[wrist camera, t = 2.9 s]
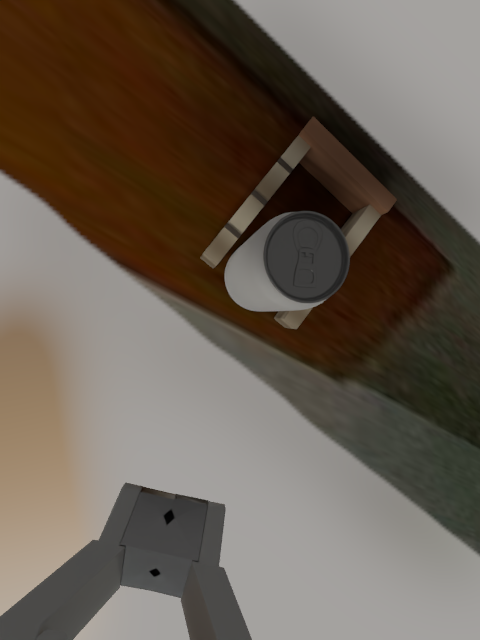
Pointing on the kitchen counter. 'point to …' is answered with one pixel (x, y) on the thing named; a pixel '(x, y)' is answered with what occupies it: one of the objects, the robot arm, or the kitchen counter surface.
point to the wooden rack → (334, 174)
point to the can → (289, 264)
